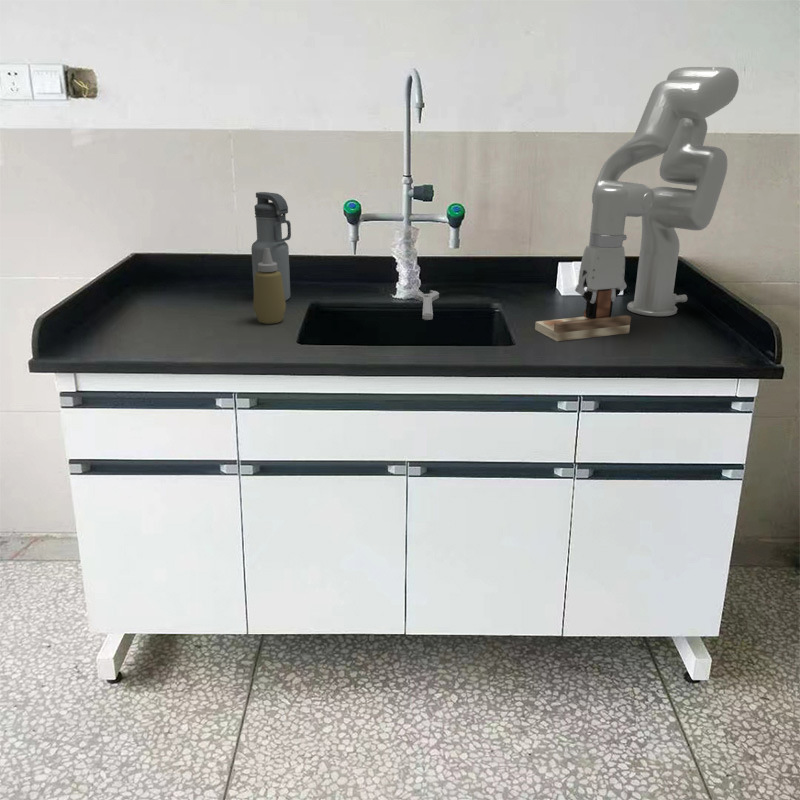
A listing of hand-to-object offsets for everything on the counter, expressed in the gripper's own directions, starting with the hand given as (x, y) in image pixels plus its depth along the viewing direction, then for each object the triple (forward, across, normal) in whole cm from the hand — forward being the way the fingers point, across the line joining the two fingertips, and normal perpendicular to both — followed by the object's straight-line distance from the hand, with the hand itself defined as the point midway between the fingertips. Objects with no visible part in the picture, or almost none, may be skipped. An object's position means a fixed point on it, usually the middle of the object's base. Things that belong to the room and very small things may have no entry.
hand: (598, 316), depth 196 cm
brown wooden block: (+1, 0, -1) cm, 2 cm away
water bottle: (+4, +66, -55) cm, 86 cm away
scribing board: (+4, +4, -1) cm, 5 cm away
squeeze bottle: (+4, +72, -34) cm, 80 cm away
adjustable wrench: (+4, +30, -35) cm, 46 cm away
